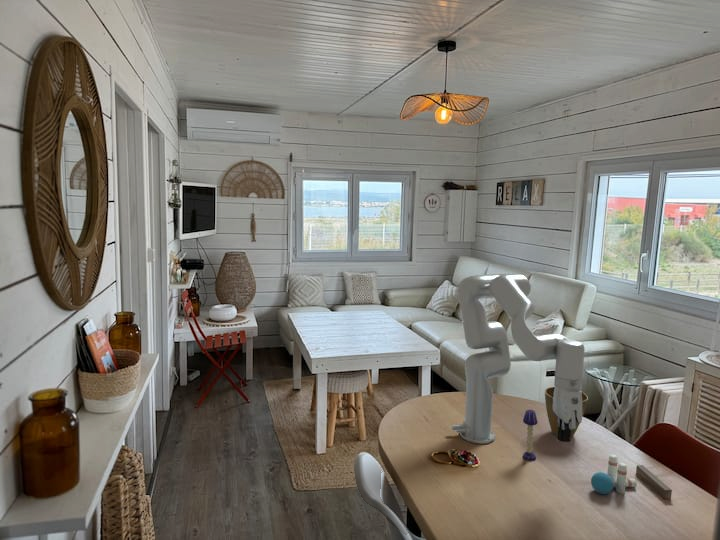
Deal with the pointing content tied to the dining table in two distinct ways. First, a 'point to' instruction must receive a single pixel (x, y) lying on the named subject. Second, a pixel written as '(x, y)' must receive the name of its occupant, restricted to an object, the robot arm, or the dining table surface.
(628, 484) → the front pin
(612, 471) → the pin
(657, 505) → the dining table surface
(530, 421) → the toy lamp
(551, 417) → the plant pot
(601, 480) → the ball
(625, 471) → the pin
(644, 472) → the back rail
